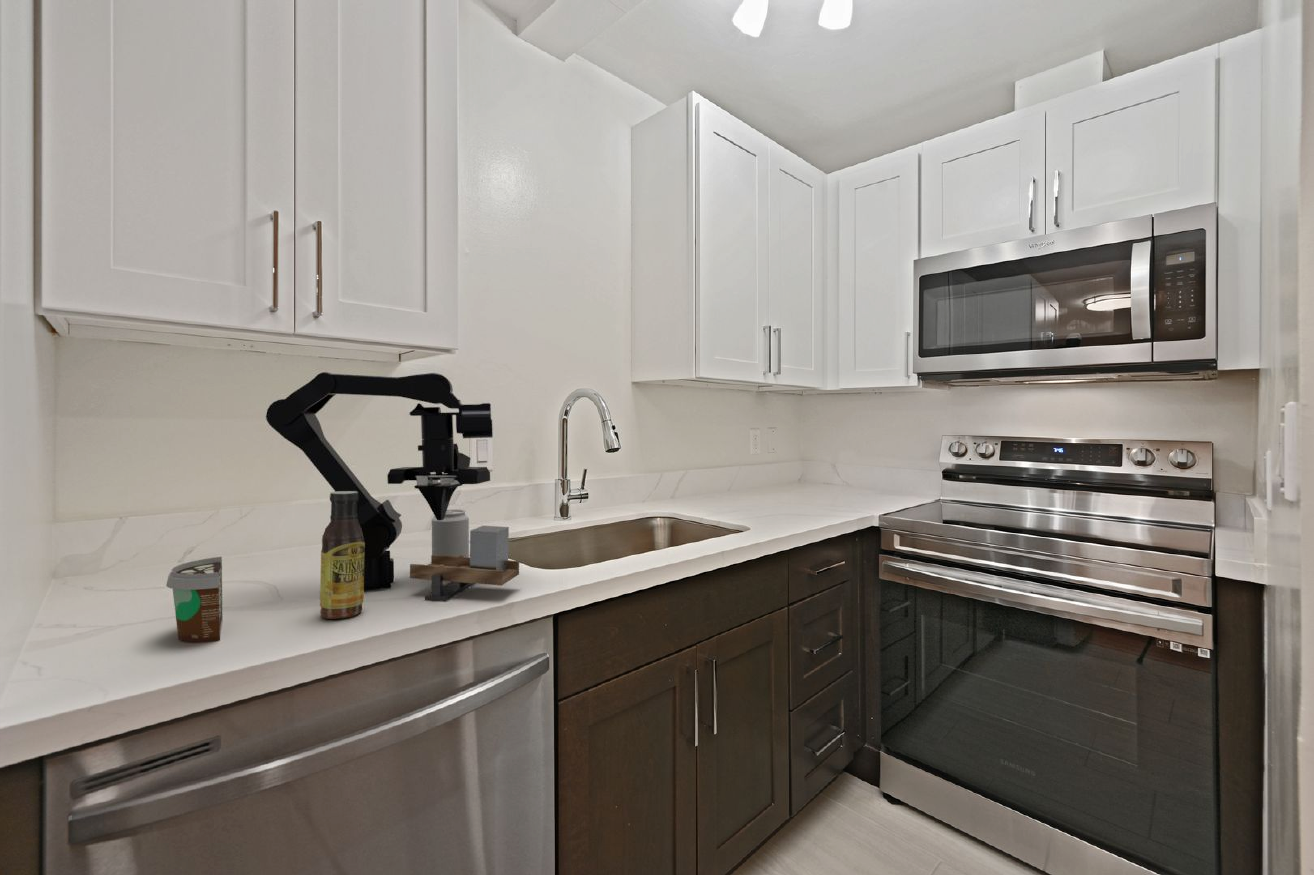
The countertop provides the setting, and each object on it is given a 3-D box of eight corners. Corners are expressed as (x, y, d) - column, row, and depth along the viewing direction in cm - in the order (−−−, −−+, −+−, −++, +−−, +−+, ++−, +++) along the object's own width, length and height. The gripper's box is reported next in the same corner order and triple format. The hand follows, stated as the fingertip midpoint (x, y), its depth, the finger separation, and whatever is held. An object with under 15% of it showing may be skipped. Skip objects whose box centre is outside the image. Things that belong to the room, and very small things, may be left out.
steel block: (469, 575, 103) (470, 530, 102) (482, 568, 108) (483, 525, 107) (496, 577, 102) (496, 532, 102) (507, 570, 107) (508, 527, 106)
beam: (408, 579, 103) (409, 563, 103) (433, 567, 111) (433, 553, 111) (501, 586, 100) (501, 570, 100) (519, 574, 108) (519, 559, 108)
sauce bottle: (333, 624, 89) (331, 495, 88) (311, 616, 92) (310, 492, 92) (373, 612, 95) (372, 491, 94) (351, 605, 98) (350, 488, 97)
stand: (424, 600, 101) (424, 575, 101) (457, 582, 112) (457, 560, 112) (445, 601, 100) (445, 577, 100) (476, 583, 111) (476, 561, 111)
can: (445, 572, 119) (444, 514, 119) (424, 566, 124) (424, 511, 123) (476, 565, 125) (475, 510, 125) (455, 560, 130) (455, 506, 129)
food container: (172, 626, 88) (171, 561, 87) (223, 618, 91) (221, 555, 91) (162, 653, 78) (160, 580, 77) (219, 643, 81) (218, 573, 81)
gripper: (501, 437, 117) (504, 513, 118) (418, 438, 121) (421, 512, 121) (474, 439, 106) (477, 523, 107) (383, 440, 110) (387, 522, 110)
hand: (440, 519), depth 112 cm, fingers closed
